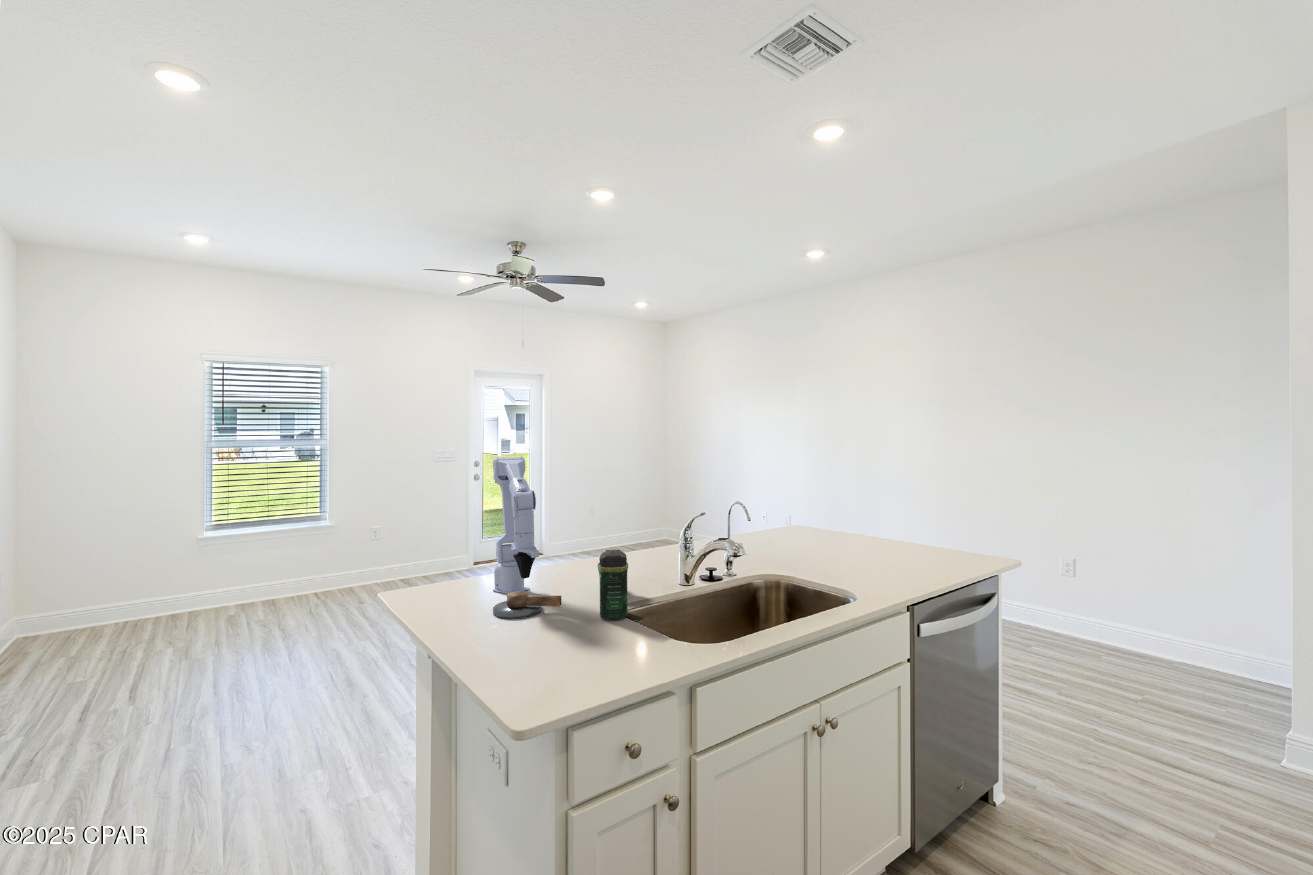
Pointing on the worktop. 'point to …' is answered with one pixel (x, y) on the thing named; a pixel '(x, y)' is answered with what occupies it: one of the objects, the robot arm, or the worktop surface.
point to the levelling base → (515, 611)
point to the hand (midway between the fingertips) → (525, 577)
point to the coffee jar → (613, 585)
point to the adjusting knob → (531, 600)
